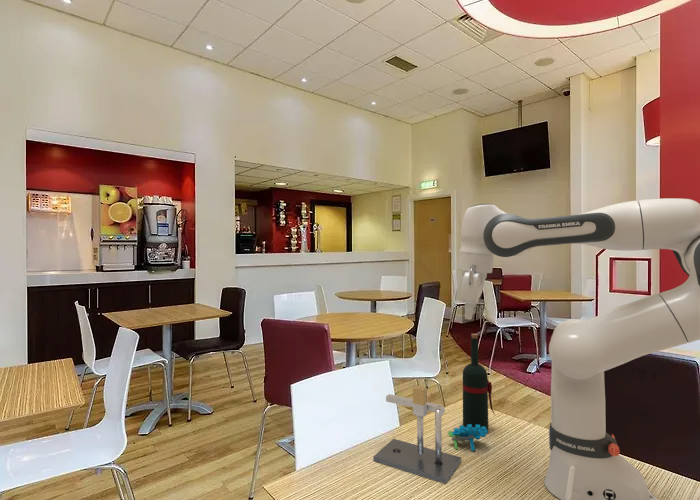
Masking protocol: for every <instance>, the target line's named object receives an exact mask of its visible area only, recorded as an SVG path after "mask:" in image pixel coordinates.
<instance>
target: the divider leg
mask: <svg viewBox="0 0 700 500" xmlns="http://www.w3.org/2000/svg"><path fill="white" fill-rule="evenodd" d="M412 399H413V407H412V415H413V416H416V417H417V418H416V426H417V427H416V428H417V430H416V432H417V433H416V434H417V435H416V436H417V437H416V439H417V440H416V445H417V453H418V454H419V455H420V456H422V455H423V453H424V447H425V445H424V418H425V416H427V414H428V411H427V402H428V388H427V387H425V386H421V385H415V386H414V387H412Z"/></svg>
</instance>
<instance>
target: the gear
mask: <svg viewBox="0 0 700 500" xmlns="http://www.w3.org/2000/svg"><path fill="white" fill-rule="evenodd" d="M447 434H448V437H449V438H451V440H452V441H453V444H454V449H455V450H459V449H458V448H459V447H458V443H457V442H461V441H462V442H463V441H469V445H470V450H471V452H475V451H476V449H475V444H474V443H475V442H474V440H480V439H481V438H485V437H487V436H486V435H488V434H489V430H488V431H487V429H486V427H484V426H482V427H481V428H480V425H475V427H472V424H468V425H467V427H464V426H463V424H461V425H459V427H454V428H453V431H451V430H449V431H448V433H447ZM485 434H486V435H485Z"/></svg>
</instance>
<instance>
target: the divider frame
mask: <svg viewBox="0 0 700 500" xmlns="http://www.w3.org/2000/svg"><path fill="white" fill-rule="evenodd" d="M385 401H386V402H387V403H390V404H391V403H392V404H395V405H396V404H397V405H399V406H400V405H401V406H403V407H404V406H405V407H408V408H410V407H411V408H413V398H409V397H405V396H400V395H395V394H390V393H389V394H387V395H386V396H385ZM445 410H446V409H445V406H444V405H443V404H438V403H434V402H429V401H427V412H432V413H434V436H435V437H434V438H435V439H434V441H435V442H434V445H435V448H434V450H435V463H436V464H438V465H440V464H442V452H443V451H442V449H443V447H442V444H443V442H442V416H443V415H444V414H445V413H446V411H445Z"/></svg>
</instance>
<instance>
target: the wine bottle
mask: <svg viewBox="0 0 700 500" xmlns="http://www.w3.org/2000/svg"><path fill="white" fill-rule="evenodd" d="M470 335H471V337H470V360H471V361H470V363H469V364H467V365H465V367H463V370H462V425H463V426H464V427H467V425H468V424H472V427H475V425H480V428H481V427H482V426H484V427H486V429H487V431H488V432H489V408H490V410H491V411H492V413H493V415H494V416H496V414H495V412H494V410H493V403H492V391H493V390H492V389H493V384H492V381H489V379H488V372H487V370H486V369H485V367H484V366H482V365H481V364H479V338H478V337H479V334H477V333H471V334H470ZM485 435H487V434H485Z"/></svg>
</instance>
